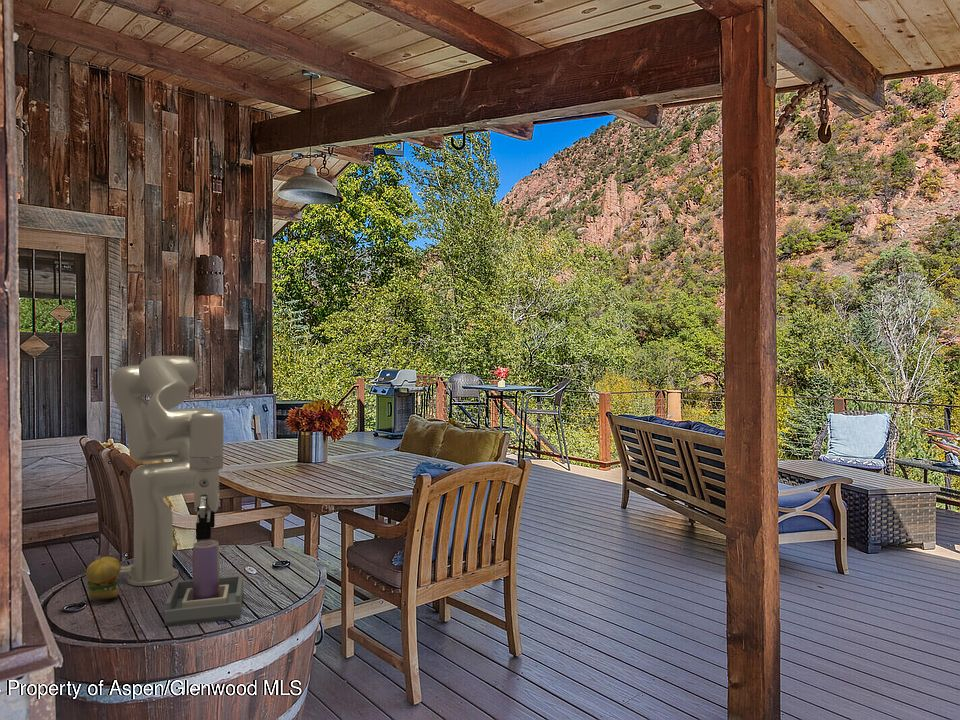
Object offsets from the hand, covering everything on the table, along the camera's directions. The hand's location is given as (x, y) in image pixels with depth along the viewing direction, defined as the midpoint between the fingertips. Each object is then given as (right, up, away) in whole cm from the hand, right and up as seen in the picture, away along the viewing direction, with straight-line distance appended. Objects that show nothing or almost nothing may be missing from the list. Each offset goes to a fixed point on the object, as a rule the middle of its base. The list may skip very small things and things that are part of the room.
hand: (205, 533), depth 154 cm
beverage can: (0, -18, 0) cm, 18 cm away
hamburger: (-28, -19, +5) cm, 34 cm away
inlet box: (0, -18, 0) cm, 18 cm away
